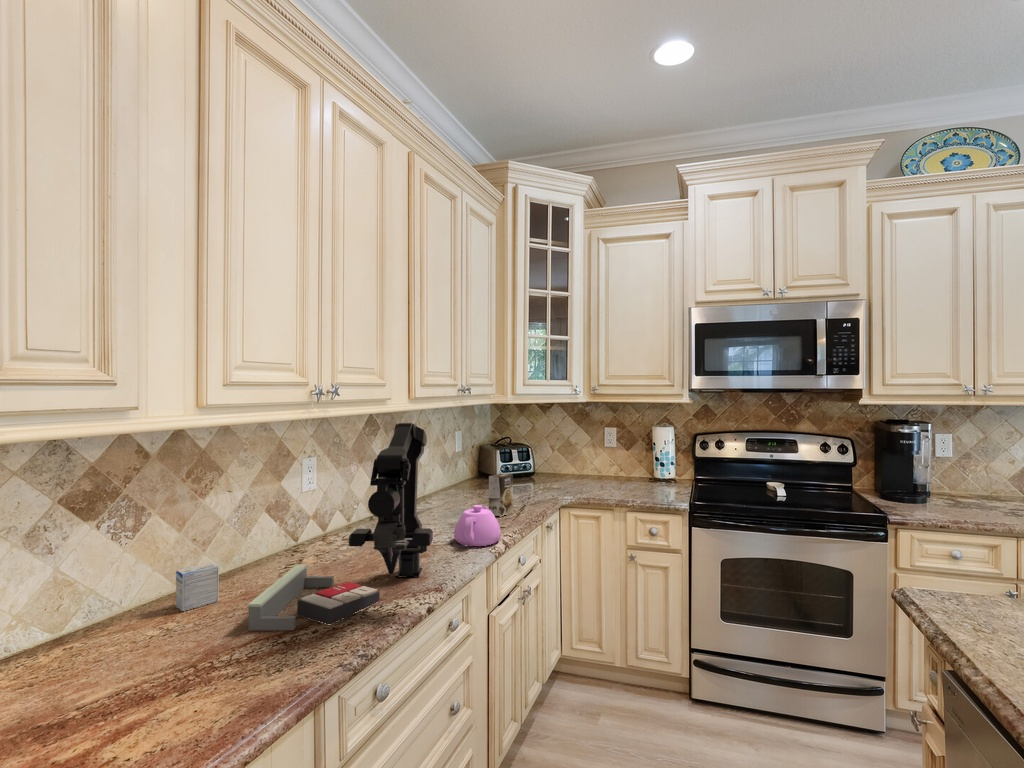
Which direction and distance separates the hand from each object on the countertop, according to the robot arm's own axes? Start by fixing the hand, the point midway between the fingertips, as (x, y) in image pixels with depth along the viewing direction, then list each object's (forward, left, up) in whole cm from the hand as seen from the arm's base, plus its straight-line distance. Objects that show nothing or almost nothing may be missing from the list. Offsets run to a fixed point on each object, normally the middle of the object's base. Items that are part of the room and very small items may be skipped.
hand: (391, 573), depth 128 cm
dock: (0, -23, -7) cm, 24 cm away
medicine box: (-1, -46, -8) cm, 47 cm away
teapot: (-54, +17, -8) cm, 57 cm away
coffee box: (-93, +24, -8) cm, 96 cm away
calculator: (+2, -12, -8) cm, 14 cm away
